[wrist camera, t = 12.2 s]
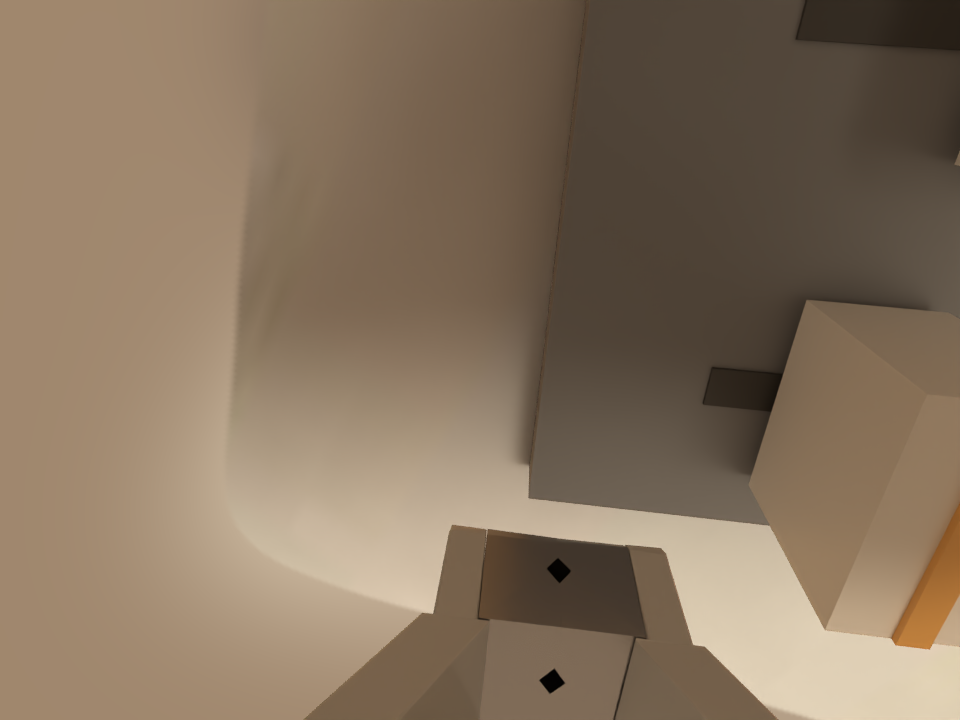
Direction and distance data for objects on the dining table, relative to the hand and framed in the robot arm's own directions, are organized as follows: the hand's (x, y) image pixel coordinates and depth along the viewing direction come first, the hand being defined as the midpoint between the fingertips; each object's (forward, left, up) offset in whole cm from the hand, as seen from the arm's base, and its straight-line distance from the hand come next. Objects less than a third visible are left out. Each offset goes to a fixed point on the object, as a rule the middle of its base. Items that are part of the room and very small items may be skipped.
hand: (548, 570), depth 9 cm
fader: (-7, 0, -6) cm, 10 cm away
